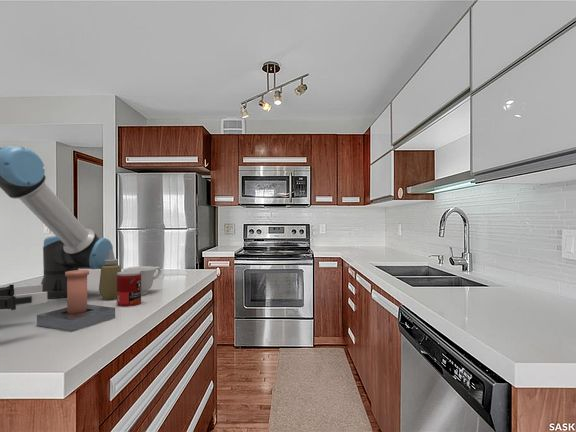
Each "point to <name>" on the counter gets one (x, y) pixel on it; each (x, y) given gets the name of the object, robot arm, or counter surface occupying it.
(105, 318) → the flange block
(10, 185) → the robot arm
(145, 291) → the teacup
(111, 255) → the squeeze bottle
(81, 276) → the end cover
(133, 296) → the canned food
